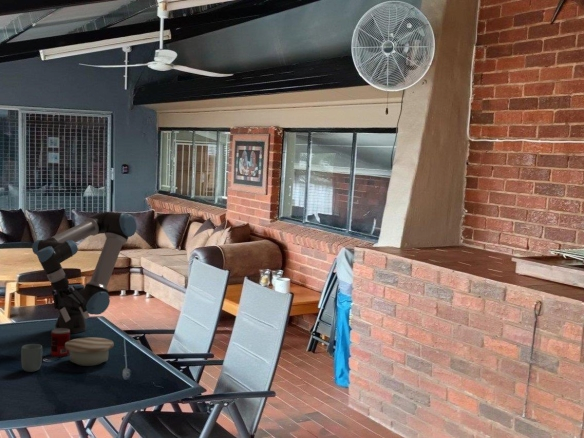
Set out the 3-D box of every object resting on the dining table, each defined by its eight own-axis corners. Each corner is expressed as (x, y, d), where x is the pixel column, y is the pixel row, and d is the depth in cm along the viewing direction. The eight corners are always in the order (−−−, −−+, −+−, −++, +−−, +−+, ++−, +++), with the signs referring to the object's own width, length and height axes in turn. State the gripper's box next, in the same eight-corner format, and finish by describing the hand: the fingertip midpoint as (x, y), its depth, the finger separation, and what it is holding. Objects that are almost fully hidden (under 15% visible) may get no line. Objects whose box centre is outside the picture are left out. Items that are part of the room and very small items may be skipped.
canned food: (72, 352, 297) (72, 328, 296) (64, 357, 289) (65, 333, 289) (55, 351, 298) (56, 327, 297) (47, 356, 290) (48, 331, 289)
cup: (34, 374, 265) (35, 349, 265) (17, 372, 267) (17, 347, 266) (45, 368, 273) (46, 345, 272) (28, 366, 274) (29, 343, 274)
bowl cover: (75, 338, 295) (75, 336, 295) (119, 341, 294) (119, 339, 294) (57, 350, 275) (57, 348, 275) (104, 354, 274) (104, 351, 274)
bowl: (77, 355, 293) (78, 340, 293) (113, 358, 292) (113, 342, 292) (63, 366, 277) (63, 350, 277) (100, 368, 276) (101, 352, 276)
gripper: (35, 286, 308) (54, 325, 314) (69, 279, 295) (89, 321, 300) (47, 278, 315) (66, 317, 320) (81, 272, 301) (100, 312, 306)
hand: (77, 319), depth 310 cm, fingers open, 13 cm apart
